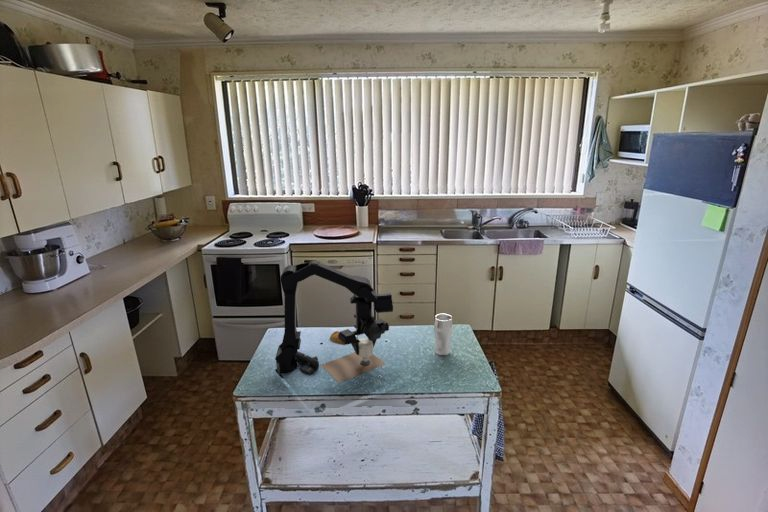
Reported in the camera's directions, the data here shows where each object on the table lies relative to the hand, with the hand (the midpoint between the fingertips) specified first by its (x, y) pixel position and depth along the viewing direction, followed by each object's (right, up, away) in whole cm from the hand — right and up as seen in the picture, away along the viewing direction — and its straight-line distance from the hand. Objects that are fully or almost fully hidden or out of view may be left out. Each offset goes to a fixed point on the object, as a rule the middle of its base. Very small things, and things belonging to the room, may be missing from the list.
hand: (364, 351), depth 144 cm
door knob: (0, -6, +2) cm, 6 cm away
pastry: (-11, -1, +20) cm, 23 cm away
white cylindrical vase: (+30, -3, +11) cm, 32 cm away
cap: (0, 0, 0) cm, 0 cm away
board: (-4, -6, +1) cm, 7 cm away
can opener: (-23, -6, +3) cm, 24 cm away
